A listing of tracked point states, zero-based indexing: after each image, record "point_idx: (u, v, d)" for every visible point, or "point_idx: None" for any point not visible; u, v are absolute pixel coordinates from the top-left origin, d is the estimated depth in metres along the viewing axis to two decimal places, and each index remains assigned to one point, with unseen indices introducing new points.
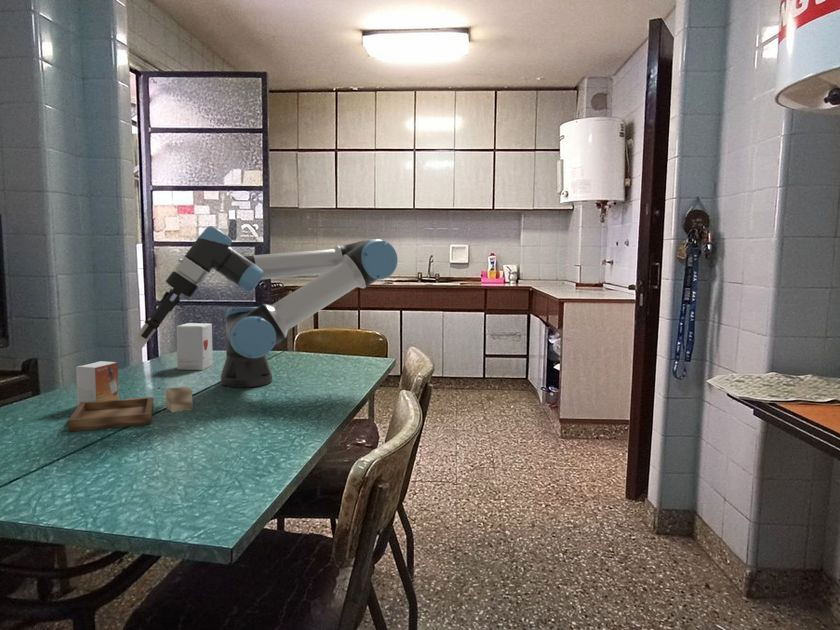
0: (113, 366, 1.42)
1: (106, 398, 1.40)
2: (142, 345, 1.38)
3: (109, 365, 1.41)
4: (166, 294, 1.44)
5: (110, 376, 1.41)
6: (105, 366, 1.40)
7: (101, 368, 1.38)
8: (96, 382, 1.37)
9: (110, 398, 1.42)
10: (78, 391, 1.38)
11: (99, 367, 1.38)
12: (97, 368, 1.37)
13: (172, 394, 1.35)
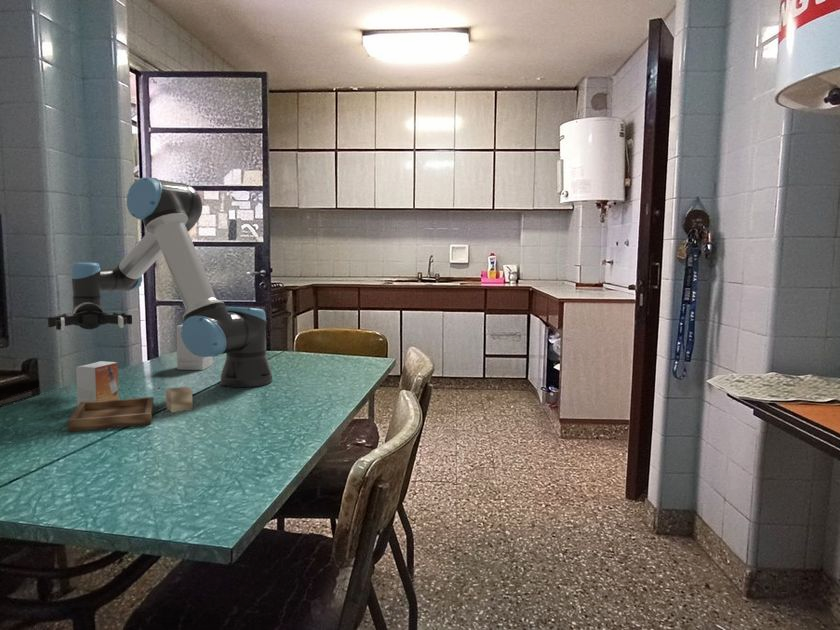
0: (113, 366, 1.42)
1: (106, 398, 1.40)
2: (61, 320, 1.45)
3: (109, 365, 1.41)
4: None
5: (110, 376, 1.41)
6: (105, 366, 1.40)
7: (101, 368, 1.38)
8: (96, 382, 1.37)
9: (110, 398, 1.42)
10: (78, 391, 1.38)
11: (99, 367, 1.38)
12: (97, 368, 1.37)
13: (172, 394, 1.35)
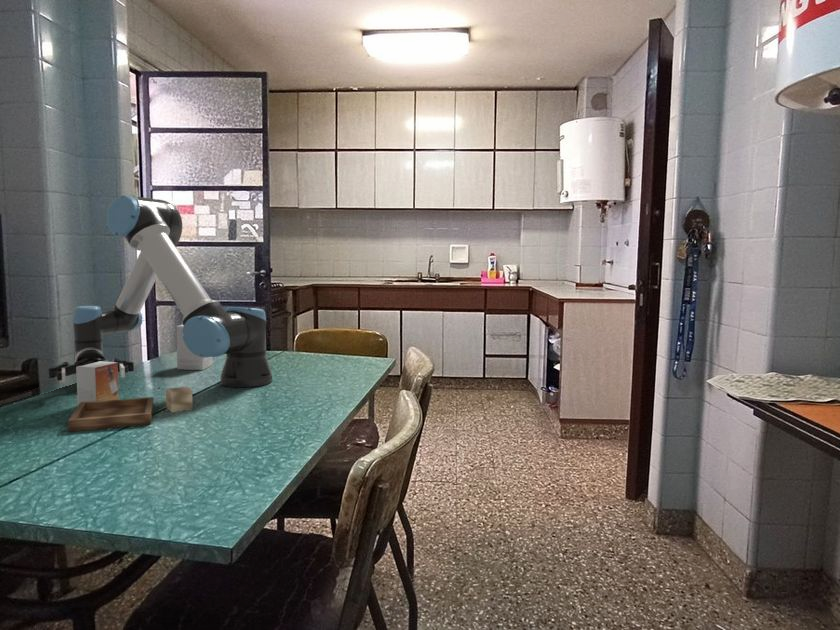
0: (113, 366, 1.42)
1: (106, 398, 1.40)
2: (61, 373, 1.43)
3: (109, 365, 1.41)
4: None
5: (110, 376, 1.41)
6: (105, 366, 1.40)
7: (101, 368, 1.38)
8: (96, 382, 1.37)
9: (110, 398, 1.42)
10: (78, 391, 1.38)
11: (99, 367, 1.38)
12: (97, 368, 1.37)
13: (172, 394, 1.35)
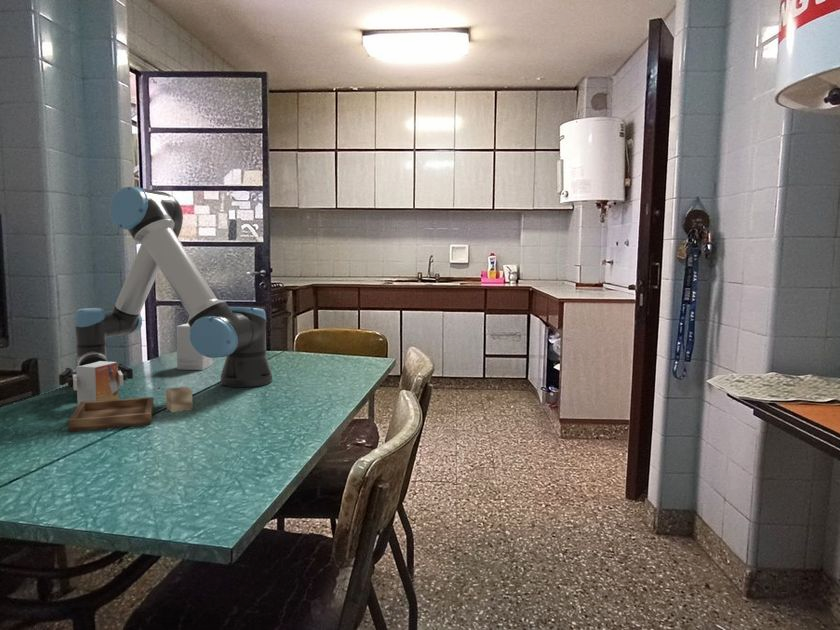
0: (113, 366, 1.42)
1: (106, 397, 1.40)
2: (73, 379, 1.35)
3: (109, 365, 1.41)
4: None
5: (110, 376, 1.41)
6: (105, 366, 1.40)
7: (101, 368, 1.38)
8: (96, 381, 1.37)
9: (110, 398, 1.42)
10: (78, 391, 1.38)
11: (99, 367, 1.38)
12: (97, 368, 1.37)
13: (172, 394, 1.35)
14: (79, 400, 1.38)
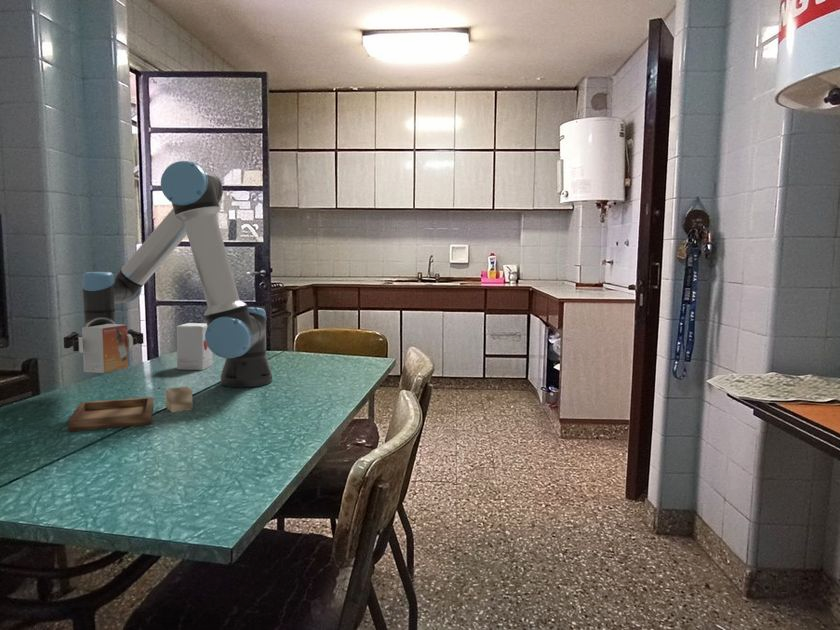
0: (122, 328, 1.31)
1: (114, 362, 1.29)
2: (78, 341, 1.24)
3: (118, 327, 1.29)
4: None
5: (119, 339, 1.30)
6: (113, 328, 1.28)
7: (109, 329, 1.27)
8: (103, 344, 1.25)
9: (119, 363, 1.30)
10: (84, 354, 1.26)
11: (107, 328, 1.26)
12: (105, 329, 1.26)
13: (172, 394, 1.35)
14: (85, 364, 1.26)
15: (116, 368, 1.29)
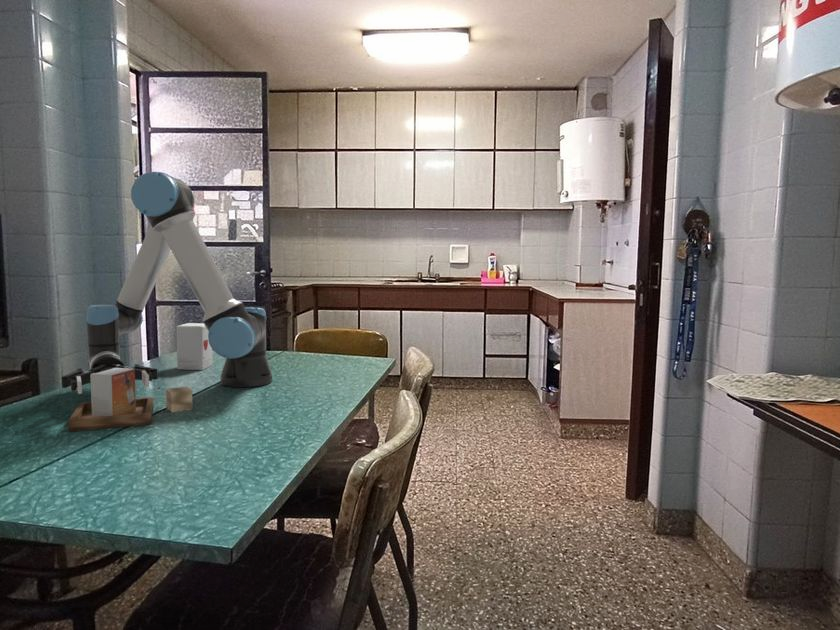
0: (130, 373, 1.31)
1: (123, 408, 1.29)
2: (77, 382, 1.23)
3: (126, 372, 1.29)
4: None
5: (127, 384, 1.30)
6: (122, 373, 1.28)
7: (118, 375, 1.27)
8: (112, 390, 1.25)
9: (127, 408, 1.30)
10: (93, 401, 1.26)
11: (116, 374, 1.26)
12: (114, 376, 1.25)
13: (172, 394, 1.35)
14: (94, 411, 1.26)
15: (124, 413, 1.29)
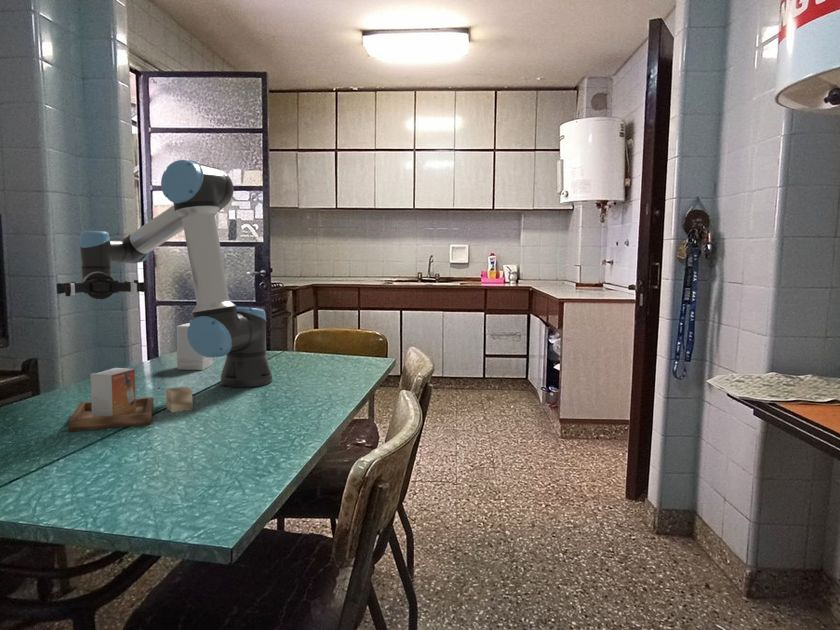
0: (130, 373, 1.31)
1: (123, 408, 1.29)
2: None
3: (126, 372, 1.29)
4: None
5: (127, 384, 1.30)
6: (122, 373, 1.28)
7: (118, 375, 1.27)
8: (112, 390, 1.25)
9: (127, 408, 1.30)
10: (93, 401, 1.26)
11: (116, 374, 1.26)
12: (114, 376, 1.25)
13: (172, 394, 1.35)
14: (94, 411, 1.26)
15: (124, 413, 1.29)
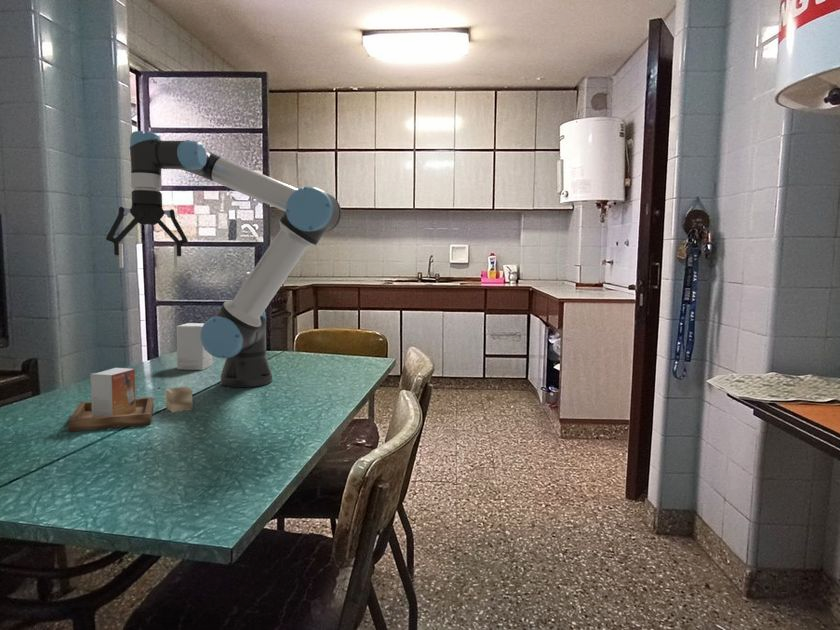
0: (130, 373, 1.31)
1: (123, 408, 1.29)
2: (119, 262, 1.50)
3: (126, 372, 1.29)
4: None
5: (127, 384, 1.30)
6: (122, 373, 1.28)
7: (118, 375, 1.27)
8: (112, 390, 1.25)
9: (127, 408, 1.30)
10: (93, 401, 1.26)
11: (116, 374, 1.26)
12: (114, 376, 1.25)
13: (172, 394, 1.35)
14: (94, 411, 1.26)
15: (124, 413, 1.29)
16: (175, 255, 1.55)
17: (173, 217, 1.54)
